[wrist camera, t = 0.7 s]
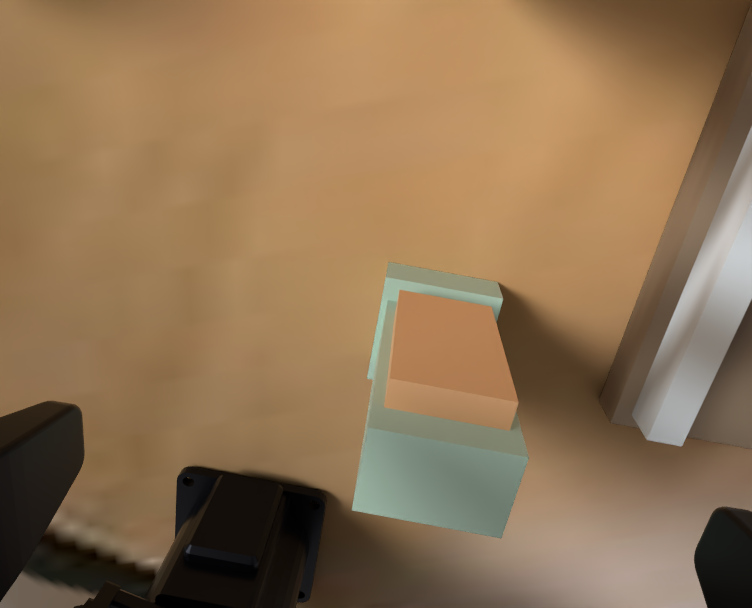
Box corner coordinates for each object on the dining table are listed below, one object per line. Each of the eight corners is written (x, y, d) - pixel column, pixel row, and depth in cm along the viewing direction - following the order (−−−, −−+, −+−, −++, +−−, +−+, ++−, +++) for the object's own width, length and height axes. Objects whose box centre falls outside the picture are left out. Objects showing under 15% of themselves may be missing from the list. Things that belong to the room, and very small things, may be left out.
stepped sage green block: (471, 376, 22) (500, 563, 14) (370, 357, 22) (338, 533, 14) (497, 282, 20) (548, 429, 12) (388, 261, 20) (364, 395, 12)
